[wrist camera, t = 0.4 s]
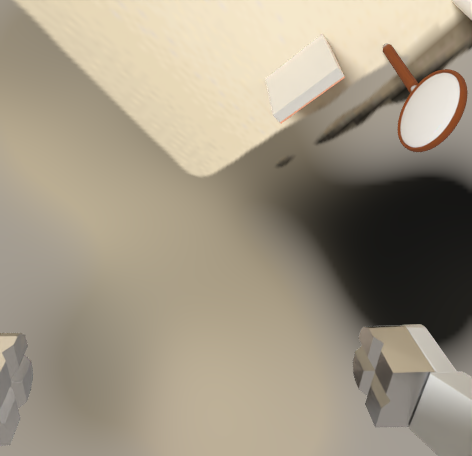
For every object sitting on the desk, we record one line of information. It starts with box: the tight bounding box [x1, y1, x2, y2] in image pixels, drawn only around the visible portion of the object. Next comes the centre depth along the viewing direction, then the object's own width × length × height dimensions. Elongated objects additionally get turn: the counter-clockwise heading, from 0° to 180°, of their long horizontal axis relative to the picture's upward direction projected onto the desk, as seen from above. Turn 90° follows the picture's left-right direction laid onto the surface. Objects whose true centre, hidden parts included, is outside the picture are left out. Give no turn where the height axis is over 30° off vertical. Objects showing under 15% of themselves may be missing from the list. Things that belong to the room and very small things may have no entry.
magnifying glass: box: [383, 44, 467, 152], centre depth 49 cm, size 9×2×20 cm, turn 155°
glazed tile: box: [265, 34, 345, 123], centre depth 54 cm, size 9×2×9 cm, turn 130°
